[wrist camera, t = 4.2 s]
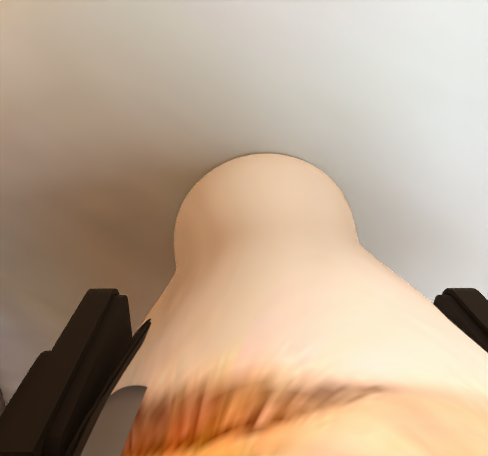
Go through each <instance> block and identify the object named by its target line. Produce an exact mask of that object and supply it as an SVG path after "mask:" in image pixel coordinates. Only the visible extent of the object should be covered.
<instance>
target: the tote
mask: <svg viewBox="0 0 488 456" xmlns="http://www.w3.org/2000/svg"><path fill="white" fill-rule="evenodd" d="M4 409H5V405H4V401H3V398H2V394H1V390H0V416H1V414H2V412H3V411H4Z"/></svg>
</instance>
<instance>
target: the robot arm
mask: <svg viewBox="0 0 488 456" xmlns="http://www.w3.org/2000/svg"><path fill="white" fill-rule="evenodd" d="M434 304H435V305H436V306H437V307H438V308H440V309H441V310H442V311H443V312H445V313H446V314H447V315H448V316H450V317H451V318H452V319H453V320H454V321H456V322H457V323H458V324H459V325H460V326H461V327H462V328H463V329H465V330H466V331H467V332H468V333H469V334H470V335H471V336H472V337H473V338H474V339H476V340H477V341H478V342H479V343H480V344H481V345H482V346H483V347H484V348H485V349H487V350H488V300H487V299H486V298H485V297H484V296H483V295H482V294H481V293H480V292H479V291H478V290H476V289H474V288H447V289H445V290H444V292H443V293H442V295H437V296H436V298H435V300H434ZM131 339H132V331H131V322H130V313H129V304H128V298H127V296H126V295H119V292H118V290H117V289H89V290H88V291H87V293H86V294H85V296H84V298H83V299H82V301H81V303H80V304H79V306H78V307H77V309H76V311H75V312H74V314H73V316H72V317H71V319H70V321H69V322H68V324H67V326H66V327H65V329H64V331H63V332H62V334H61V336H60V337H59V339H58V341H57V342H56V344H55V346H54V347H53V349H52V351H45V352H43V353H41V354H40V355H39V356H38V358H37V359H36V361H35V362H34V364H33V365H32V367H31V368H30V370H29V372H28V373H27V375H26V376H25V378H24V379H23V381H22V383H21V384H20V386H19V387H18V389H17V390H16V392H15V394H14V395H13V397H12V398H11V400H10V401H9V403H8V405H7V406H6V408H5V409H4V411H3V412H2V414H1V416H0V456H62V455H63V453H64V452H65V450H66V448H67V446H68V444H69V443H70V441H71V439H72V437H73V436H74V434H75V432H76V430H77V429H78V427H79V425H80V423H81V422H82V420H83V418H84V416H85V415H86V413H87V411H88V409H89V408H90V406H91V404H92V403H93V401H94V399H95V397H96V396H97V394H98V392H99V390H100V389H101V387H102V385H103V383H104V382H105V380H106V378H107V376H108V375H109V373H110V371H111V370H112V368H113V366H114V365H115V363H116V362H117V360H118V359H119V357H120V356H121V354H122V353H123V351H124V350H125V348H126V347H127V345H128V344H129V342H130V341H131Z"/></svg>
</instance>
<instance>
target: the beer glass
mask: <svg viewBox="0 0 488 456" xmlns="http://www.w3.org/2000/svg"><path fill="white" fill-rule="evenodd" d="M174 254H175V262H176V272H175V274H174V276H173V278H172V279H171V281H170V282H169V284H168V286H167V287H166V289H165V290H164V292H163V293H162V295H161V296H160V298H159V299H158V300H157V302H156V303H155V305H154V306H153V308H152V309H151V311H150V312H149V313H148V315H147V316H146V318H145V319H144V321H143V322H142V324H141V325H140V327H139V328H138V330H137V331H136V333H135V334H134V336H133V337H132V339H131V341H130V342H129V344H128V345H127V347H126V348H125V350H124V351H123V353H122V354H121V356H120V357H119V359H118V360H117V362H116V363H115V365H114V366H113V368H112V370H111V371H110V373H109V375H108V376H107V378H106V380H105V382H104V383H103V385H102V387H101V389H100V390H99V392H98V394H97V396H96V397H95V399H94V401H93V403H92V404H91V406H90V408H89V409H88V411H87V413H86V415H85V416H84V418H83V420H82V422H81V423H80V425H79V427H78V429H77V430H76V432H75V434H74V436H73V437H72V439H71V441H70V443H69V444H68V446H67V448H66V450H65V452H64V453H63V455H62V456H488V350H487V349H485V348H484V347H483V346H482V345H481V344H480V343H479V342H478V341H477V340H476V339H474V338H473V337H472V336H471V335H470V334H469V333H468V332H467V331H466V330H465V329H463V328H462V327H461V326H460V325H459V324H458V323H457V322H456V321H454V320H453V319H452V318H451V317H450V316H448V315H447V314H446V313H445V312H443V311H442V310H441V309H440V308H438V307H437V306H436V305H435V304H433V303H432V302H431V301H430V300H428V299H427V298H426V297H425V296H423V295H422V294H421V293H420V292H418V291H417V290H416V289H415V288H413V287H412V286H411V285H410V284H408V283H407V282H406V281H405V280H403V279H402V278H401V277H400V276H398V275H397V274H396V273H394V272H393V271H392V270H391V269H389V268H388V267H387V266H385V265H384V264H383V263H381V262H380V261H379V260H378V259H376V258H375V257H374V256H373V255H371V254H370V253H369V252H368V251H367V250H366V249H364V248H363V247H362V246H361V245H360V244H359V242H358V236H357V231H356V226H355V222H354V219H353V215H352V213H351V210H350V207H349V205H348V203H347V201H346V199H345V197H344V195H343V193H342V192H341V190H340V189H339V187H338V186H337V185H336V184H335V182H334V181H333V180H332V179H331V178H330V177H329V176H328V175H326V174H325V173H324V172H323V171H321V170H320V169H318V168H317V167H315V166H313V165H312V164H310V163H308V162H305V161H303V160H300V159H298V158H294V157H291V156H286V155H281V154H270V153H263V154H252V155H247V156H242V157H239V158H235V159H233V160H230V161H228V162H225V163H223V164H221V165H219V166H218V167H216V168H214V169H213V170H211V171H210V172H208V173H207V174H206V175H205V176H203V177H202V178H201V179H200V180H199V181H198V182H197V183H196V184H195V185H194V186H193V188H192V189H191V190H190V191H189V193H188V194H187V196H186V197H185V199H184V201H183V203H182V205H181V207H180V210H179V213H178V216H177V219H176V224H175V231H174Z"/></svg>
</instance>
